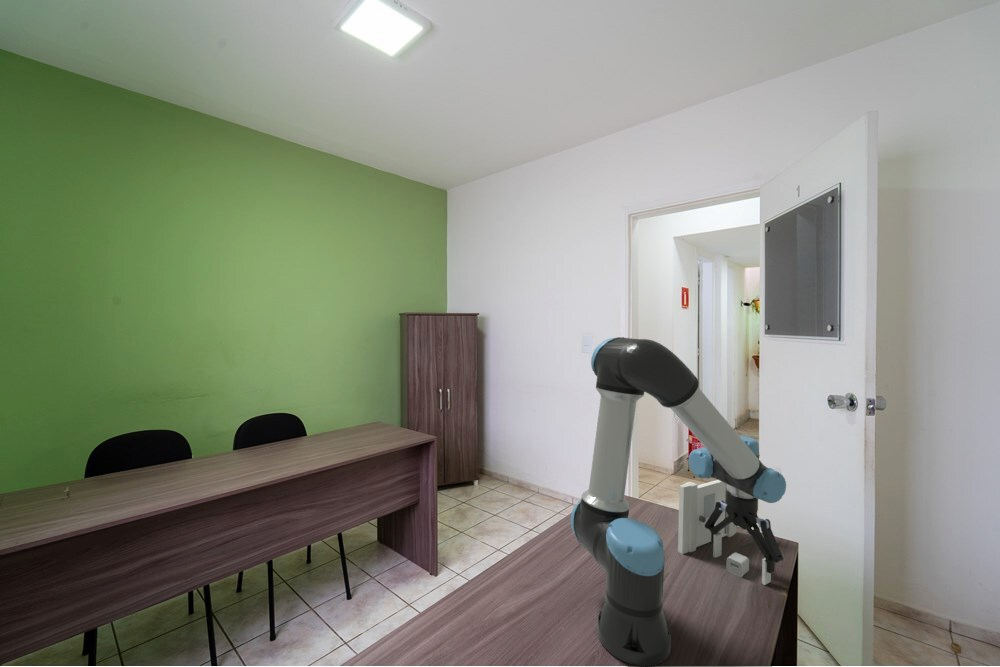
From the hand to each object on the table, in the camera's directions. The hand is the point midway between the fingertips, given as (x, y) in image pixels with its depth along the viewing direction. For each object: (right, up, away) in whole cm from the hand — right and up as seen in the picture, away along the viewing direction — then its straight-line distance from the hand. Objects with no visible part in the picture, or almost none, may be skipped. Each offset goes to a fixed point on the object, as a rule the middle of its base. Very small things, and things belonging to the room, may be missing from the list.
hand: (740, 568), depth 112 cm
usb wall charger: (0, 0, 0) cm, 1 cm away
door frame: (-2, 0, +14) cm, 14 cm away
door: (-2, +1, +13) cm, 13 cm away
